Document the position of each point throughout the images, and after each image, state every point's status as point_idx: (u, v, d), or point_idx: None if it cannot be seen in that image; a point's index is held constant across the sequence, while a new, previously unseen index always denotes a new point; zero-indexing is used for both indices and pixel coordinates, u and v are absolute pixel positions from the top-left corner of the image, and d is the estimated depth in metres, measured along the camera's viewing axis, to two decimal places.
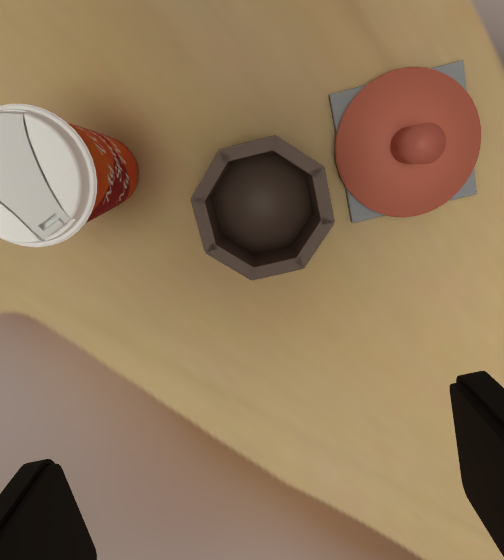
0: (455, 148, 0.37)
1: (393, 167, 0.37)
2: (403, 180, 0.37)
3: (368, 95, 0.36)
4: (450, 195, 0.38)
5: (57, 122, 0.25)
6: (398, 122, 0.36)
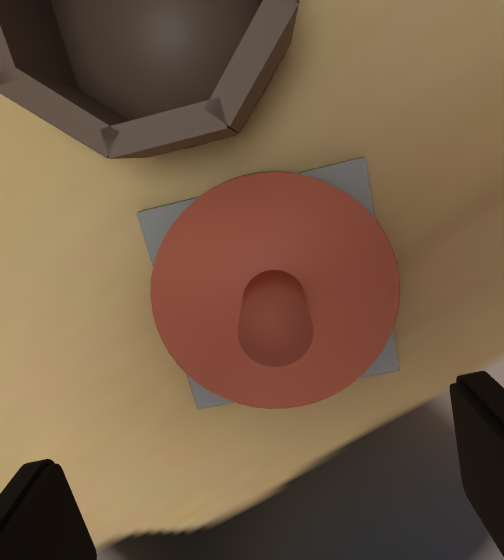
0: (267, 373, 0.22)
1: (236, 278, 0.21)
2: (214, 296, 0.21)
3: (359, 226, 0.20)
4: (192, 373, 0.22)
5: None
6: (312, 280, 0.21)
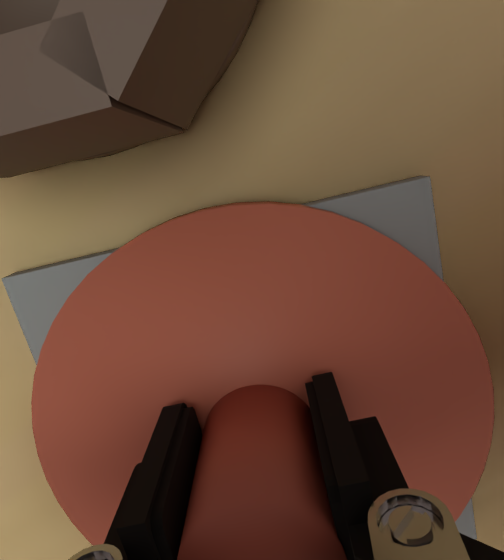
0: None
1: (190, 398, 0.11)
2: (151, 430, 0.11)
3: (424, 305, 0.10)
4: None
5: None
6: None
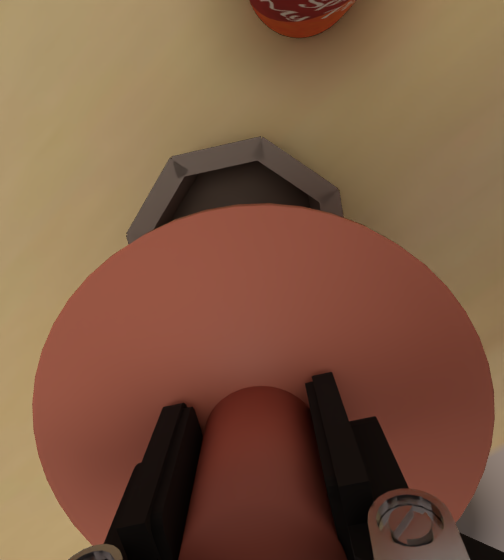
0: None
1: (191, 400, 0.11)
2: (151, 432, 0.11)
3: (424, 307, 0.10)
4: None
5: None
6: None
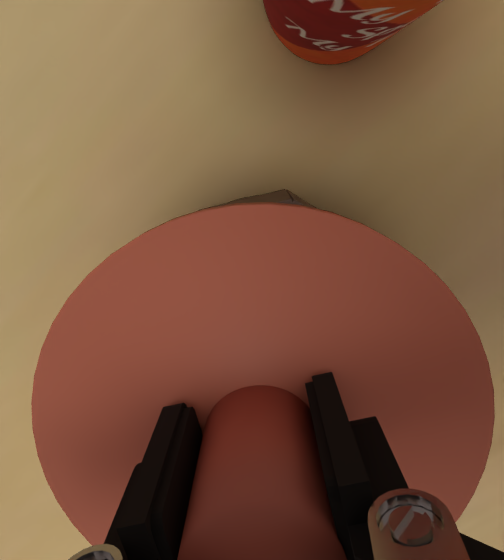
0: None
1: (190, 399, 0.11)
2: (151, 431, 0.11)
3: (424, 306, 0.10)
4: None
5: None
6: None
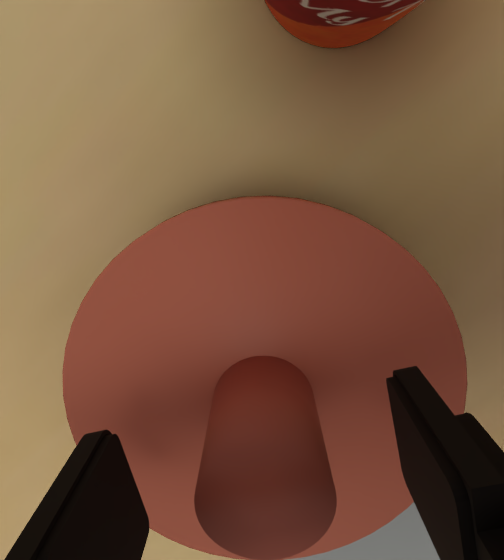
0: None
1: (202, 368, 0.13)
2: (167, 397, 0.13)
3: (405, 286, 0.12)
4: None
5: None
6: (325, 371, 0.13)
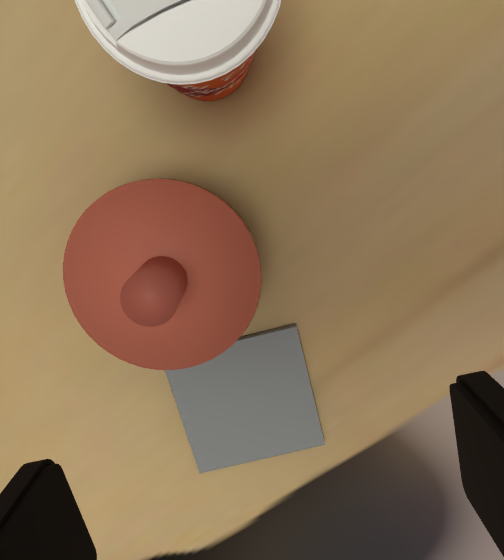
0: (162, 341, 0.28)
1: (131, 263, 0.26)
2: (115, 278, 0.26)
3: (224, 219, 0.26)
4: (101, 342, 0.28)
5: (259, 30, 0.17)
6: (191, 263, 0.26)
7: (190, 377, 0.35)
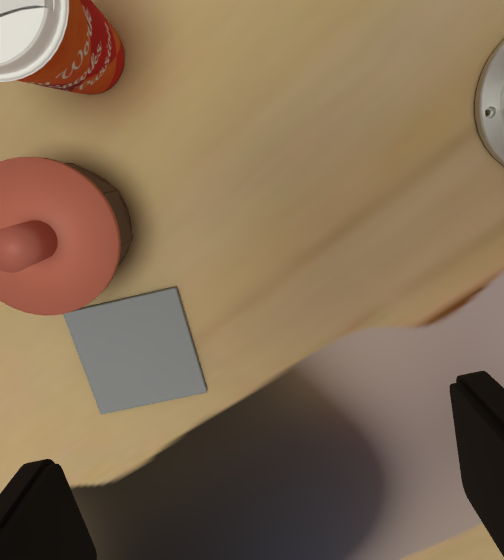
0: (40, 290, 0.34)
1: (11, 225, 0.32)
2: None
3: (84, 191, 0.32)
4: None
5: (51, 42, 0.23)
6: (60, 226, 0.32)
7: (88, 330, 0.41)
